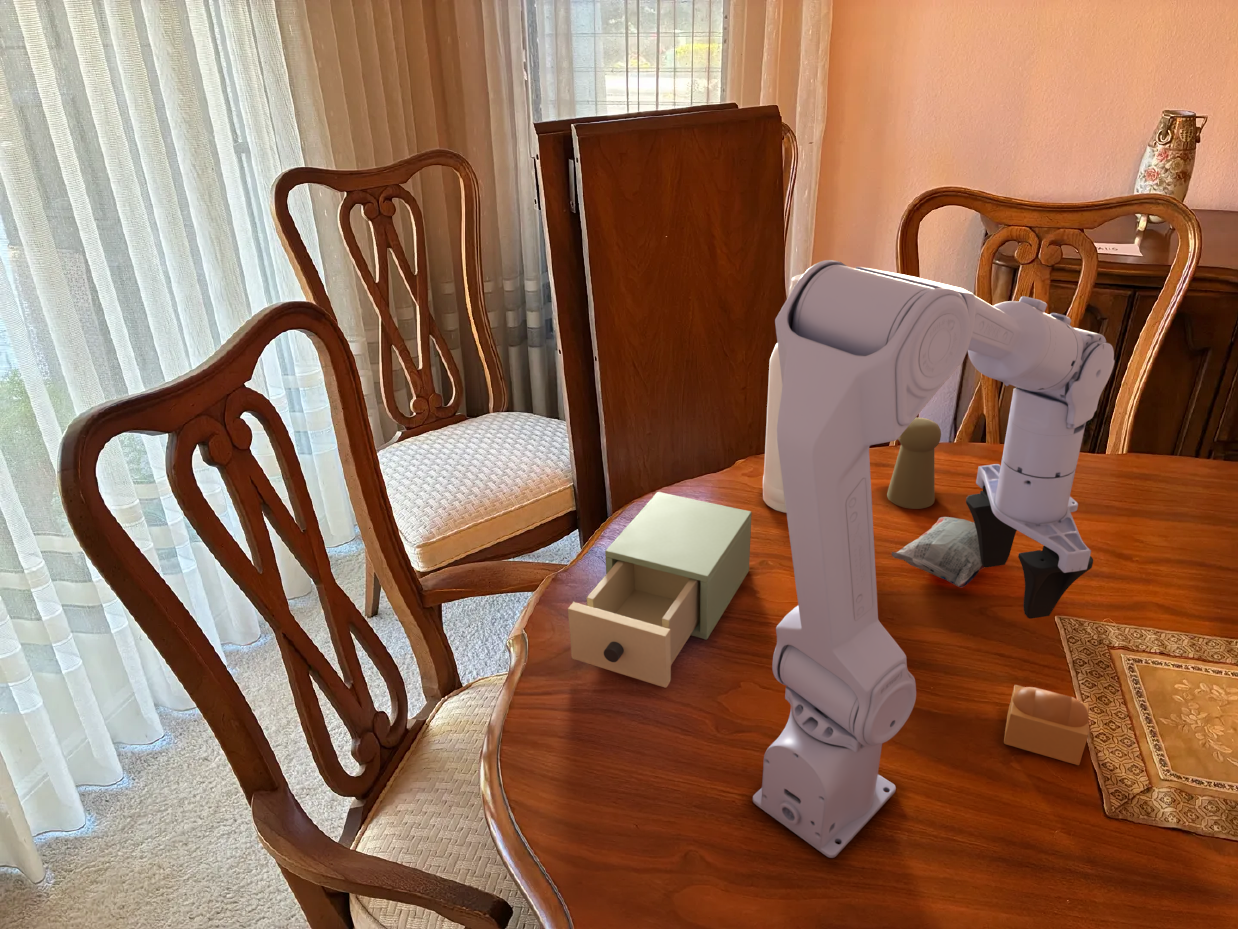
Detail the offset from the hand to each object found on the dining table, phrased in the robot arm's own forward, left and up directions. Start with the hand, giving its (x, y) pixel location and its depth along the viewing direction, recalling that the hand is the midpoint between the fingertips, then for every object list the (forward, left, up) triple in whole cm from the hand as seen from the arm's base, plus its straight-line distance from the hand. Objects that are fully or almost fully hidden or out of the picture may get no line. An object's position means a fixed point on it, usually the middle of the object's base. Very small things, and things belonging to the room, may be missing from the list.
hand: (1014, 588), depth 79 cm
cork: (+24, +23, -10) cm, 35 cm away
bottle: (+13, +34, -10) cm, 38 cm away
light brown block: (-6, -7, -10) cm, 13 cm away
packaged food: (+13, +12, -10) cm, 21 cm away
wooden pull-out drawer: (-21, +28, -9) cm, 36 cm away
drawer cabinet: (-12, +31, -10) cm, 35 cm away
